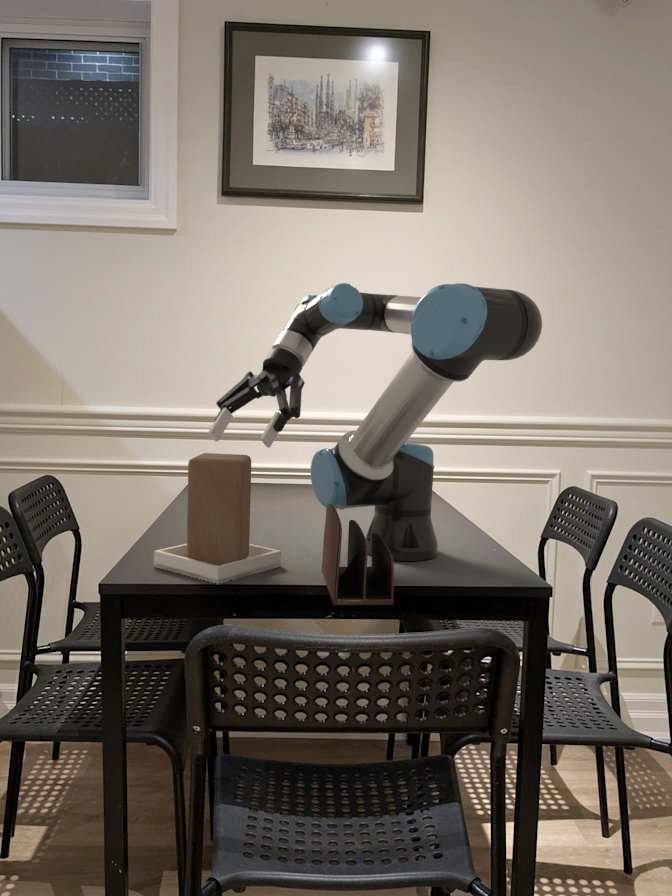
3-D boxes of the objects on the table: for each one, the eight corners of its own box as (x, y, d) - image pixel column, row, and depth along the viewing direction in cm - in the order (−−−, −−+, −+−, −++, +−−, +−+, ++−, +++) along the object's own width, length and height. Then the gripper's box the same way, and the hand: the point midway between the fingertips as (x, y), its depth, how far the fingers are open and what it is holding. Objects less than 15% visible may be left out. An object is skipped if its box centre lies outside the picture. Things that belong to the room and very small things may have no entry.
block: (239, 571, 143) (242, 461, 141) (185, 568, 144) (186, 458, 142) (249, 557, 153) (252, 454, 151) (198, 554, 154) (200, 452, 152)
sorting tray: (280, 566, 151) (281, 550, 150) (217, 584, 137) (218, 567, 137) (218, 551, 160) (218, 536, 160) (153, 566, 147) (153, 550, 147)
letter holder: (333, 606, 128) (336, 520, 127) (321, 573, 148) (323, 498, 146) (393, 606, 129) (397, 521, 128) (374, 573, 149) (377, 499, 147)
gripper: (344, 373, 158) (297, 457, 148) (250, 369, 172) (202, 446, 163) (328, 346, 153) (278, 432, 143) (232, 345, 167) (182, 423, 157)
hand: (238, 440), depth 153 cm, fingers open, 13 cm apart
